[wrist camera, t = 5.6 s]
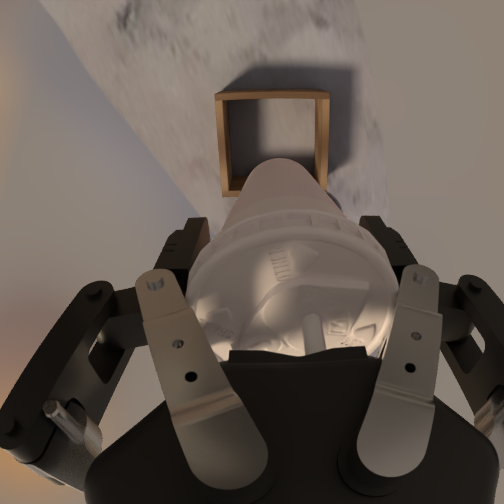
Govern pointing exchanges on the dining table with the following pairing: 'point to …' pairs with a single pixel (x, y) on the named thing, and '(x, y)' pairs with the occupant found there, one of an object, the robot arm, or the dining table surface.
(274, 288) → the smoothie
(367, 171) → the dining table surface
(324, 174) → the caddy
